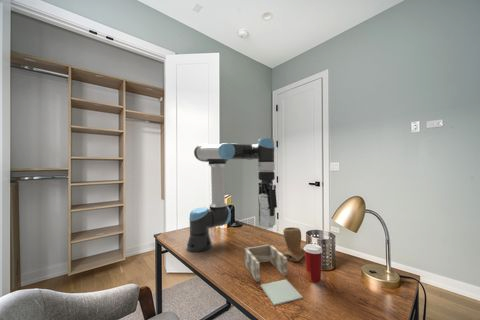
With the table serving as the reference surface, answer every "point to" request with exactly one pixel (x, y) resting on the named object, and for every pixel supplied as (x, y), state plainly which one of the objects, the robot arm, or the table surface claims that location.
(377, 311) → the table surface
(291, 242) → the brown boot
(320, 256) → the paper cup
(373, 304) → the table surface
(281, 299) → the mat
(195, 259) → the table surface
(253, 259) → the cubby
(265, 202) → the syrup box
